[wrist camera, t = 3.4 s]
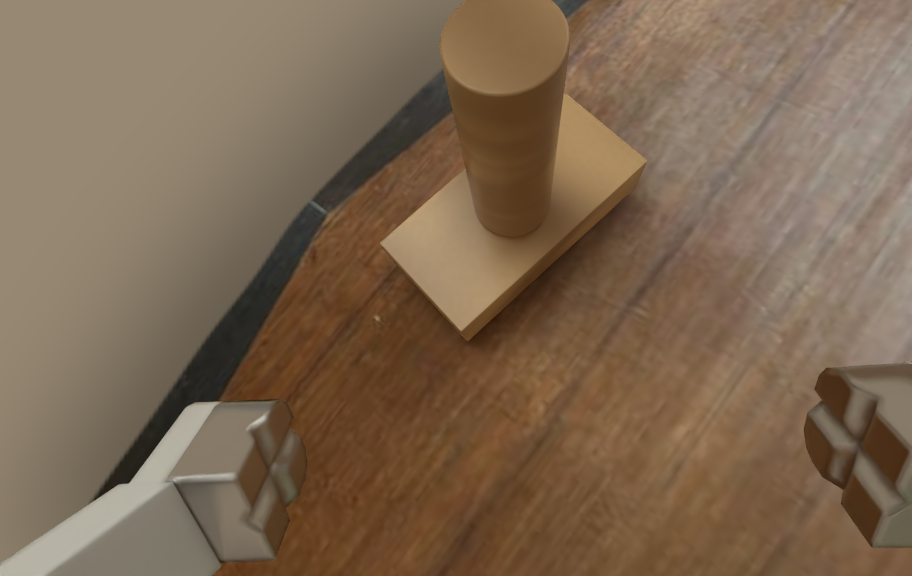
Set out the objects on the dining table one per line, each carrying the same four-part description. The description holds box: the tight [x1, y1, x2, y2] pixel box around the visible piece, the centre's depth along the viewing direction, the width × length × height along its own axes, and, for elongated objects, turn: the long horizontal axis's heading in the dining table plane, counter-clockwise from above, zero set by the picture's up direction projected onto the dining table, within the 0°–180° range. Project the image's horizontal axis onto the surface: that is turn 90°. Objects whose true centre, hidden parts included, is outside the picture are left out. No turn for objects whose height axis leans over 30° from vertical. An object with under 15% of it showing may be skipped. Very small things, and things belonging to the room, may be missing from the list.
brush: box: [380, 0, 647, 341], centre depth 17 cm, size 10×5×12 cm, turn 132°
